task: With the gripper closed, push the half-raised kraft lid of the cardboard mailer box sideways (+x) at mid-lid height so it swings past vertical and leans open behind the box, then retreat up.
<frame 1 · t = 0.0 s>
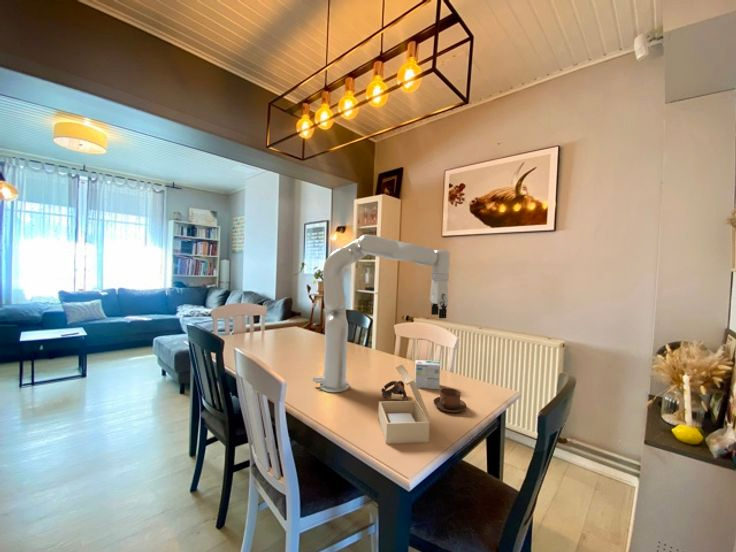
hand: (438, 316, 137), 31 cm above the table, fingers open, 9 cm apart
lid: (412, 391, 99), point 12 cm above the table, hinge at 65.0°
light bulb box: (426, 386, 137), on the table
mailer box: (401, 429, 99), on the table
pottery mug: (395, 399, 122), on the table
cup and saucer: (449, 408, 116), on the table
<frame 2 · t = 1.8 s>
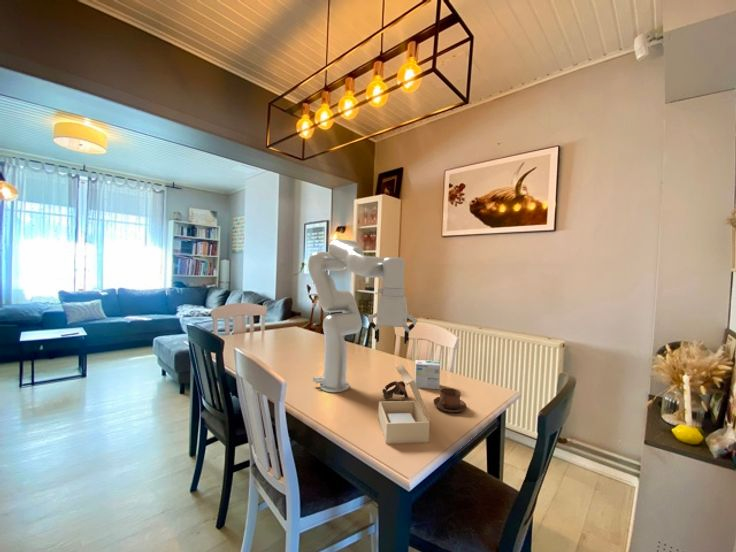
hand: (391, 342, 107), 26 cm above the table, fingers open, 9 cm apart
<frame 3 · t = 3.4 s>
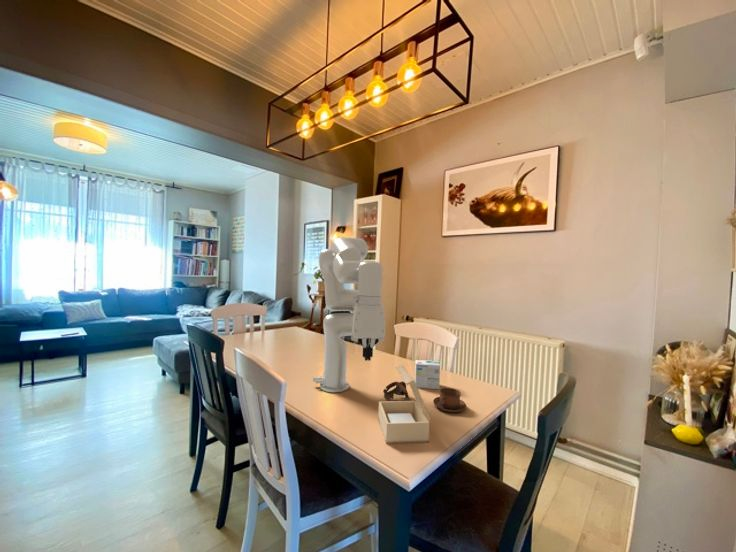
hand: (367, 359, 97), 23 cm above the table, fingers closed
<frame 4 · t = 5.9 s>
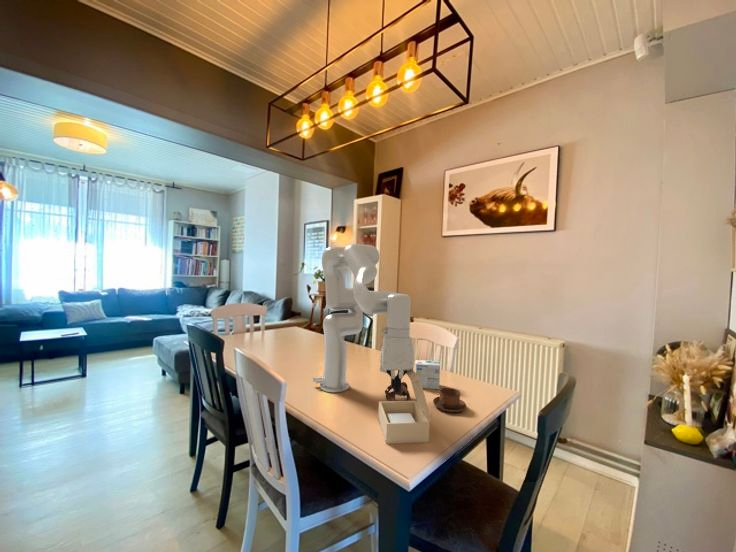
hand: (395, 389, 98), 13 cm above the table, fingers closed
lid: (414, 390, 99), point 13 cm above the table, hinge at 73.2°, touching gripper
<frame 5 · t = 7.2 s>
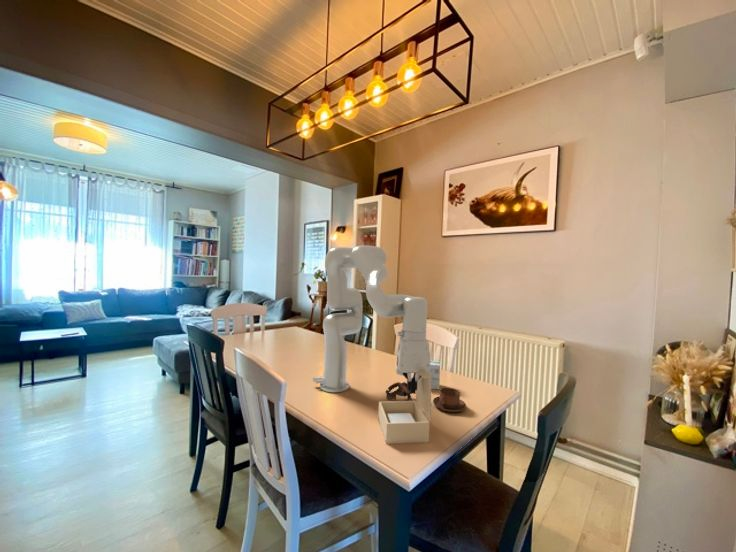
hand: (411, 392, 99), 12 cm above the table, fingers closed
lid: (420, 389, 99), point 13 cm above the table, hinge at 88.0°, touching gripper
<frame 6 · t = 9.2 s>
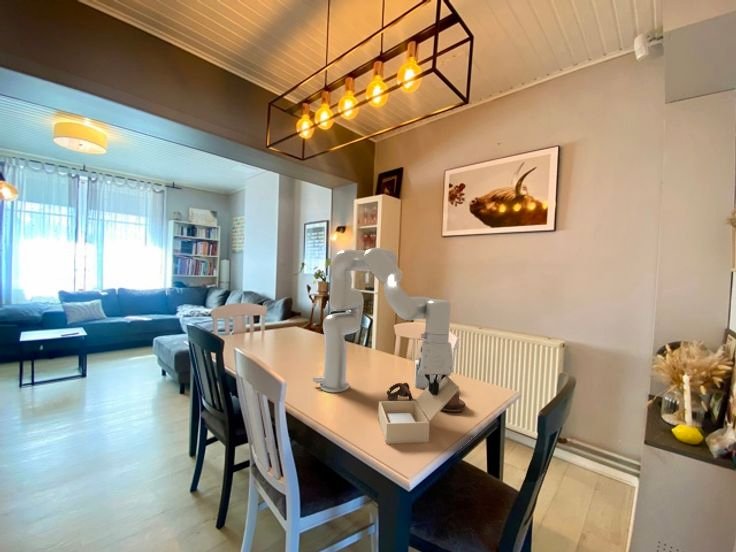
hand: (433, 393, 100), 12 cm above the table, fingers closed
lid: (434, 392, 100), point 12 cm above the table, hinge at 131.3°, touching gripper
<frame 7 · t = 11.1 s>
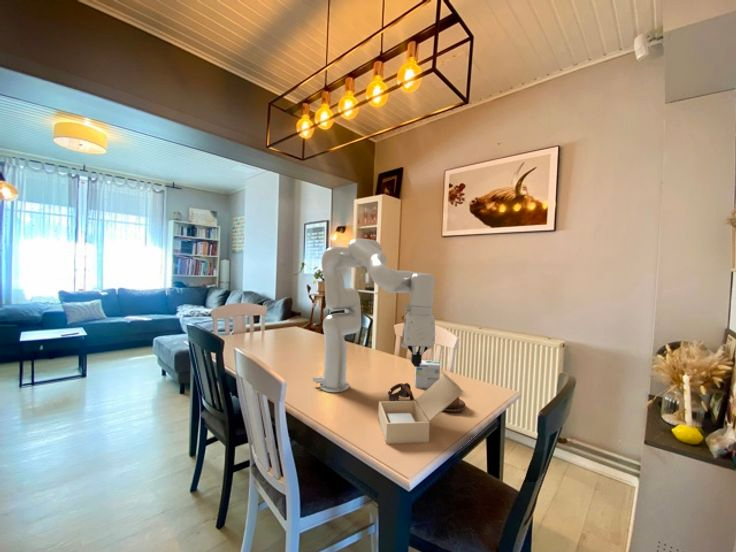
hand: (415, 365, 102), 20 cm above the table, fingers closed
lid: (436, 393, 100), point 12 cm above the table, hinge at 138.2°
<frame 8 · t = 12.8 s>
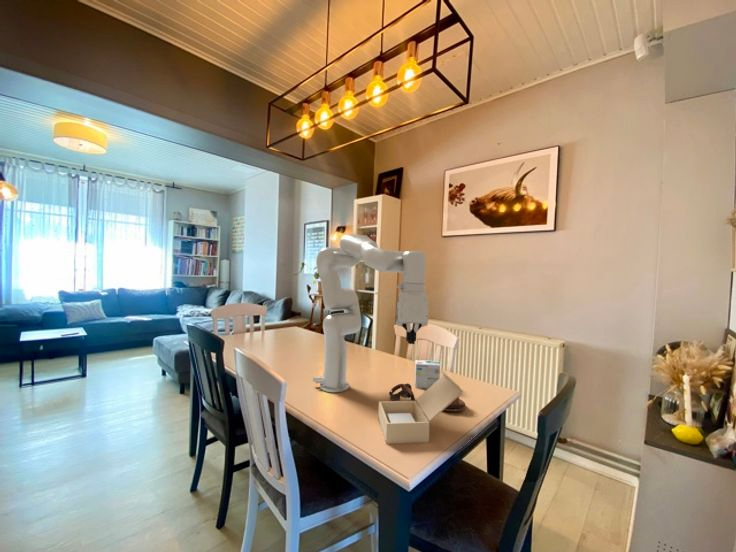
hand: (410, 343, 102), 27 cm above the table, fingers closed
at the end: lid at +138° (first picture: +65°) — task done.
